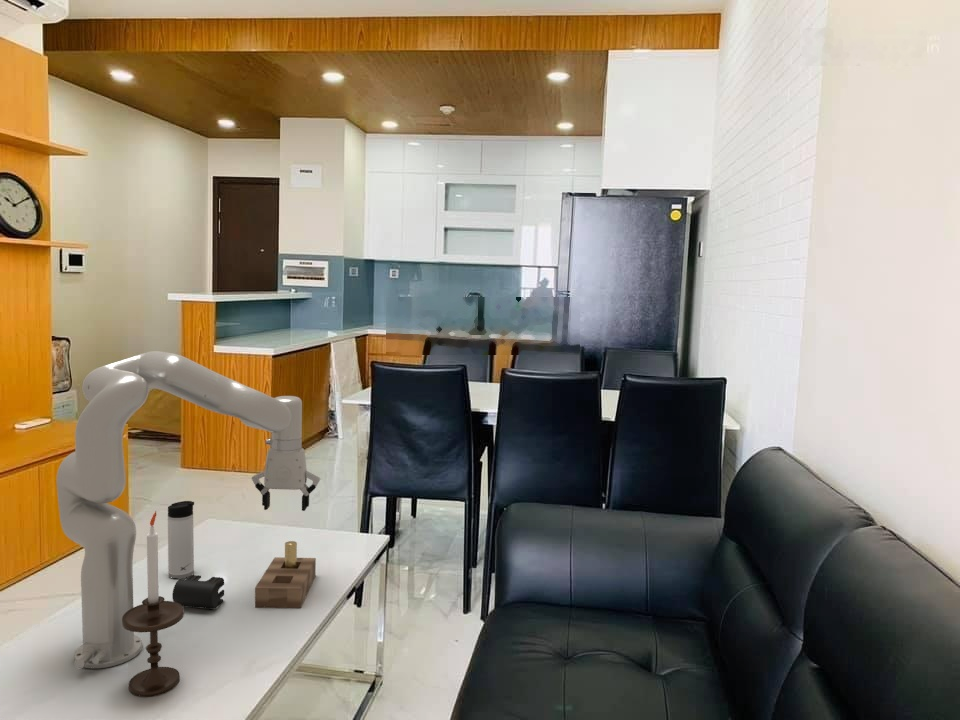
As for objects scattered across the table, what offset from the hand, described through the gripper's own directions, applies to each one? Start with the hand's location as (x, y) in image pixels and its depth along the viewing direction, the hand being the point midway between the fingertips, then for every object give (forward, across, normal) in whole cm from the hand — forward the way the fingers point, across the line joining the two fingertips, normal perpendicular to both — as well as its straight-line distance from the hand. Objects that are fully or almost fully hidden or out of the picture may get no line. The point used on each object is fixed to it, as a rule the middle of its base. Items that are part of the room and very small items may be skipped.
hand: (285, 508), depth 180 cm
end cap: (+21, -18, -13) cm, 30 cm away
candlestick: (+21, -14, -46) cm, 52 cm away
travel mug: (+21, -29, +5) cm, 36 cm away
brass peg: (+20, +1, +1) cm, 21 cm away
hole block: (+20, +1, -4) cm, 21 cm away
